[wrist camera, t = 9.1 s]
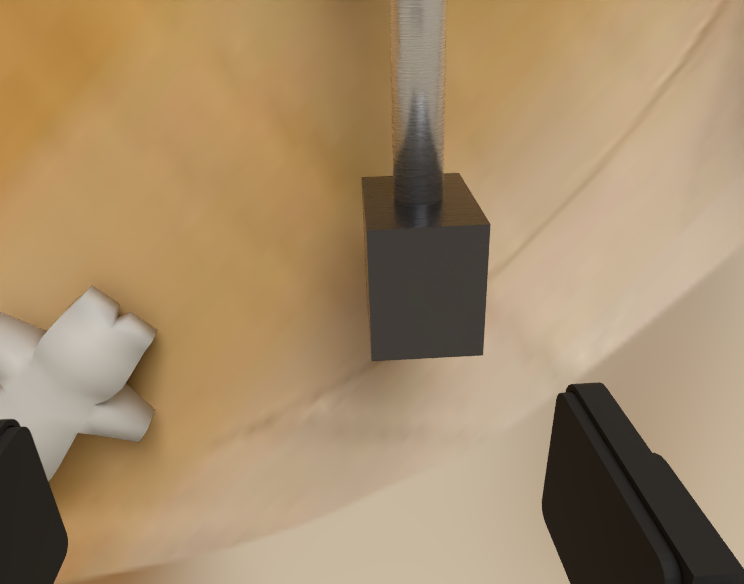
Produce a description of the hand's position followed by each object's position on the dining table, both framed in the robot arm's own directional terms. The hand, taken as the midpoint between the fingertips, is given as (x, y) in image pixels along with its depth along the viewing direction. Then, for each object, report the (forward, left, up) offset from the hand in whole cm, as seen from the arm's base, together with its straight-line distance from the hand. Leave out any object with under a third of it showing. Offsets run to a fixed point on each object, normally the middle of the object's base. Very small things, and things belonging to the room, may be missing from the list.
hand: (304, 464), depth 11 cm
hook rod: (+6, +4, -16) cm, 18 cm away
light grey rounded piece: (-20, -2, -20) cm, 28 cm away
